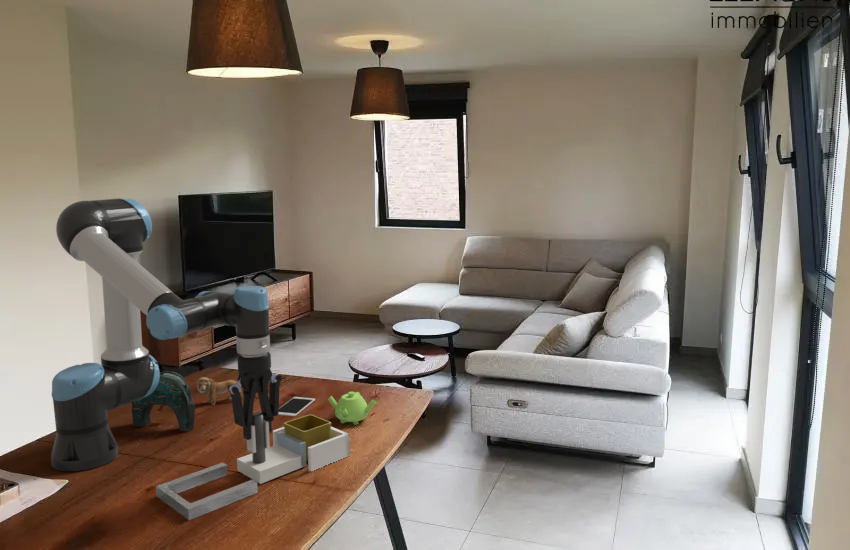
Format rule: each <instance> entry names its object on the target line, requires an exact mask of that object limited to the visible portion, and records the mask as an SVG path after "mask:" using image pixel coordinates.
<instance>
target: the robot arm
mask: <svg viewBox="0 0 850 550" xmlns="http://www.w3.org/2000/svg"><path fill="white" fill-rule="evenodd" d="M152 223H153V221H152V218H151V216H150V214H149V212H148V210H147V208H145V206H144V205H143V204H142V203H141V202H140V201H137V200H135V199H133V198H108V199H107V198H106V199H97V200H80V201H76V202H73V203H71V204H70V205H68V206H66V207H65V208H64V209H63V210H61V213H60V214H59V216H58V219H57V222H56V226H55V227H56V228H55V229H56V231H55V232H56V237H57V239H58V242H59V244H60V245H61V246H62V248H63V250H64V251H65V252H66V253H67V254H68V255H70V256H71V258H73V259H75V260H76V261H79V262H84V263H85V264H87V265H88V266H89V267H90V268H91V269H92V270H94V271H95V272H96V273H97V274H98V275H99V276H100V277H101V280H102V281H101V283H102V296H103V311H104V324H105V325H104V328H105V341H106V349H105V350H104V351H103V352H102V353H101V354H100V362H101V363H98V362H84V363H81V364H74V365H72V366H71V365H70V366H69V367H66V368H65V369H62V370H61V371H58V373H56V374H55V375H54V377H53V378H52V381H51V397H52V403H53V405H52V406H53V411H54V422H55V431H56V435H55V440H54V443H53V446H52V449H51V455H50V461H51V462H50V463H51V467H52V469H54V470H57V471H61V472H80V471H86V470H88V471H89V470H92V469H95V468H98V467H102V466H104V465H106V464H109V463H110V462H111V461H113V460H115V459H116V458H117V456H118V455H119V447H118V446H119V445H118V443H117V441H116V439H115V436H114V435H113V432H112V430H111V428H110V426H109V421H108V412H109V411H111V410H114V409H117V408H120V407H123V406H126V405H128V404H132V402H134V401H139V400H141V399H142V398H144V397H146V396H148V395H150V394H151V393H152V392H153V391H154V390H155V389H156V387H157V385H158V383H159V378H160V373H161V372H160V368H159V367H160V366H159V363H158V364H157V363H156V361H157V359H156V358H155V357H153V356H152V355H151V354H149V353H150V351H149V349H147V348H146V347H145V346H144V345H143V337H142V336H143V335H142V320H141V318H142V317H141V312H142V313H143V314H144V315H145V316H146V321H145V322H146V327H147V329H148V330H149V333H150V334H151V336H152V337H153V338H155V339H157V340H160V341H166V340H171V339H177V338H180V337H183V336H185V335H188V334H192V333H194V332H198V331H203V330H206V329H210V328H214V327H216V326H229V327H235V337H236V338H235V339H236V353H237V354H238V355H237V357H236V358H237V371H238V377H237V379H236V380H237V381H236V383H235V384H234V385H229V386H228V392H229V394H230V396H231V399H230V400H231V404H232V411H233V412H232V413H233V418H234V419H233V421H234V424H235V425H238V426H240V427H242V432H243V435H242V436H243V439H244V440H246V450H247V451H248V452H250V453H251V454H252V453H256V438H255V426H254V425H252V416H253V413H254V404H255V399H256V394H257V396H258V401H259V407H260V411H261V412H260V413H263V417H264V437H265V449H266V448H270V447H271V444H270V433H272V432H273V429H272V427H273V426H272V422H273V421H274V420H275V417H277V416H279V415H278V413H279V408H280V386H281V381H282V379H283V377H282V375H280V374H278V373H275V372H273V371H272V370H271V367H272V359H271V358H272V354H271V353H270V351H271V339H270V338H271V337H270V335H271V334H270V303H269V297H268V296H269V295H268V290H267V289H266V288H265V287H263V286H261V285H245V286H240V287H236V288H235V289H234V291H233V293H229V292H227V293H226V292H220V291H217V290H211V291H209V290H208V291H206V290H204V291H201V292H199V293H198V294H197V295H196V296H195V297H194V298H193V297H192V298H188V299H182V298H180V297H179V296H178V295H177V294H175V293H174V292H173V291H172V290H171V289H169V287H167V286H166V285H165V284H164V283H163V282H161V281H160V280H159V279H158V278H157V277H155V275H153V274H152V273H151V272H149V271H148V270H147V269H146V268H145V267H143V265H141V264H140V263H139V262H138V258H139V256H140V255H141V254H142V253H143V252H144V244H143V243H145V242H146V241H147V240H148V239H150V236H151V235H152V232H153V224H152ZM268 384H269V387H268ZM240 388H242V389H240ZM241 391H242V394H243V395H244V397H242V396H241V394H240V392H241ZM241 397H242V398H241ZM242 400H243V401H242Z"/></svg>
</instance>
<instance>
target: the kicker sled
mask: <svg viewBox="0 0 850 550" xmlns="http://www.w3.org/2000/svg"><path fill="white" fill-rule="evenodd" d="M252 425H254V426H255V438H256V453H252V452H251V453H249V454H247V455H244V456H241V457H238V458H236V467H237V468H236V469H237V471H238V472H240V473H241V474H243V475H244V476H245V477H248V478H250V480H254V481H256V482H257V484H259V485H262V484H264V483H266V482H269V481H271V480H273V479H276V478H279V477H281V476H284V475H286V474H289V473H292V472H293V471H297V470H299V469H301V468H305V467H306V466H307V461H306V442H304V441H302V440H299V439H297V438H295V437H293V436H291V435H288V434H286V433H284V432H279V433H277V445H274V446H273V445H271V446H270V448H265V437H264V417H263V413H262V412H259V411H258V412H253V416H252Z"/></svg>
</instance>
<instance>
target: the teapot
mask: <svg viewBox="0 0 850 550" xmlns="http://www.w3.org/2000/svg"><path fill="white" fill-rule="evenodd" d="M327 401H328V402H329V403H330V404H331V406H332V407H333V408H334V415H335V417H336V418H337V419H338V420H339V424H345V423H352V424H353V425H354V426H355V425H356V426H358V425H359V424H360V423H359V422H360V421H363V420H364V419H366V417H367V416H368V415H369V412H370V411H371V410H372V408H374V406H375V405H376V404H377V401H376V400H375V399H371V401H370V402H368V404H367V402H366V400H365V398H364V397H363V396H362V395H361V393H360V392H359V391H356V392H355V391H348V392H347V393H345V394H342V395H341V396H340V398H339V400H338V401H336V400H335V399H334V397H333V396H332V395H331V396H330V397H328V398H327ZM357 424H358V425H357Z"/></svg>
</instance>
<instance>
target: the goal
mask: <svg viewBox="0 0 850 550" xmlns="http://www.w3.org/2000/svg"><path fill="white" fill-rule="evenodd" d="M279 432H284V433H285V429H284V426H281V427H280V428H276V429H272V446H274V445H277V433H279ZM350 448H351V447H350V433H348V432H346V431H343V430H340V429H338V428H335V427H333V426H331V429H330V437H329V440H326V441H324V442H321V443H318V444H315V445H313V446H310V447H308V461H307V462H308V472H310V471H313V472H315V471H317V470H316V469H318V468H320V469H322V468H324V467H323V466H325V465H327V466H329V465H328V464H330V463H332V464H334V463H333V462H335V463H337V462H339V461H338V460H340V459H342V460H344V459H343V458H345V457H347V458H349V457H350V453H351V452H350ZM348 456H349V457H348ZM345 459H346V458H345ZM336 461H337V462H336ZM340 461H341V460H340ZM330 465H331V464H330ZM321 467H322V468H321ZM325 467H326V466H325ZM314 470H315V471H314ZM318 470H319V469H318Z"/></svg>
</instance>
